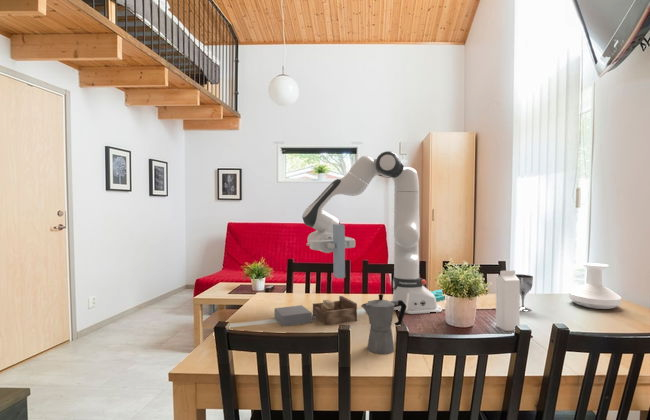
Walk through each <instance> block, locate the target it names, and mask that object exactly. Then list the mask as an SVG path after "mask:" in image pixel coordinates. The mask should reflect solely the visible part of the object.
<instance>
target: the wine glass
mask: <svg viewBox="0 0 650 420" xmlns="http://www.w3.org/2000/svg"><path fill="white" fill-rule="evenodd" d="M515 275H516V276H517V277H518V279H519V280H520V297H521V298H520V299H521V305H520V312H532V309H531V308H529V307H525V297H526V295H527V294H528V293H529V292H530V291H531V290H532V288H533V283H534V276H532V275H530V274H529V275H528V274H524V273H523V274H521V273H520V274H517V273H515Z"/></svg>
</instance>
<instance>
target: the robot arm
mask: <svg viewBox="0 0 650 420" xmlns="http://www.w3.org/2000/svg"><path fill="white" fill-rule="evenodd" d="M376 176H379V177H382V178H387V179H392V180H393V185H394V191H393V192H394V198H393V199H394V201H393V202H394V208H393V209H394V215H393V217H394V218H393V219H394V223H393V224H394V225H393V236H394V244H393V245H394V251H393V252H394V253H393V255H394V256H393V259H394V260H393V263H394V265H393V266H394V267H393V269H394V270H393V273H394V274H393V277H392V278H393V279H392V288H393V293H392V299H391V301H398V300H402V301H403V302H404V303H405V304H406V310H405V313H404V314H408V315H417V314H431V313H430V312H436V313H441V311H442V312H443V308H442V306H441V305H440V304H438V303H437V302H438V301H436V298H435V296H434V294H433V293H431V292H430V290H429V289H428V288H427V287H426V286H425V285H426V284H427V281H426V279H423V278H421V277H420V251H419V248H420V247H419V246H420V245H419V241H420V239H421V238H420V237H421V235H420V234H421V233H420V232H421V230H420V229H421V227H420V225H421V223H420V222H421V221H420V179H419V176H418V172H417V170H416V169H415V168H413V167H410V166H409V167H408V166H404V163H403V162H402V160H401V158H400V157H399V156H398V154H397V153H396V152H393V151H391V150H389V151H388V150H387V151H386V150H385V151H383V152H381V153H380V154H379V155H378V156H377V158H373V157H371V156H368V155H363V156H361V157H359V158H358V159H357V160H356V162H354V164H353V165H352V166H351V167H350V169H349V171H348V172H347V173H346V175H344V176H343V177H340V178H336V179H335V180H333V181H332V182H331V183H330V184H329V185H328V186H327V187H326V188H325V189H324V191H322V193H321V194H320V195H319V196H318V197H317V198H316V199H315V200H314V201H313V202H312V203H311V204H310V205H308V207H307V208H306V209H305V210H304V211H303V213H302V221H303V223H304V225H305V226H307V227H310V228H313V229H314V230H315V231H313V232H312V231H311V233H309V234H308V236H307V243H306V244H305V245H306V246H309V249H310V250H313V251H320V252H322V253H325V254H330V253H333V248H337V244H335V243H333V224H341V222H340V220H339V218H338V217H336V216H334V215H332V213H331V214H330V213H329V212H328V211H326V210H324V209H323V208H324V207H325V206H326V205H327V204H328V202H330V200H331V199H333V197H334V196H336V195H341V196H342V195H344V196H348V197H349V196H350V197H354V196H356V197H357V196H359V195H362V194H363V193H364V192H365V191H366V189H367V188H368V186H369V185H370V183H371V182H372V180H373V179H374V178H375V177H376ZM355 247H356V240H355V238H352V237H349V236H345V249H353V248H355ZM400 309H401V306H397V307H394V311H396V310H398V311H397V312H400Z"/></svg>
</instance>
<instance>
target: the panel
mask: <svg viewBox="0 0 650 420" xmlns="http://www.w3.org/2000/svg"><path fill="white" fill-rule="evenodd" d="M345 227H346V225H345V224H341V223H340V224H333V243H335V244H337V248H333V252H332V254H333V260H332V261H333V265H332V266H333V267H332V268H333V269H332V271H333V275H332V276H333V277H334V278H336V279H345V278H346V248H345V237H346V235H345V233H346V232H345V231H346V229H345Z"/></svg>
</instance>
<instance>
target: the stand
mask: <svg viewBox="0 0 650 420" xmlns="http://www.w3.org/2000/svg"><path fill="white" fill-rule="evenodd" d="M312 318H313V311H312V312H311V311H310V310H309V309H308V308H306V307H305V306H303V304H301V305H293V306H292V305H291V306H284V307H274V319H275V320H276V321H277V322H278V323H279V324H280V325H281V327H288V326H289V327H290V326H295V325H303V324H309V323H310V324H311V323H312V322H313V321H312V320H313V319H312Z"/></svg>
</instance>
